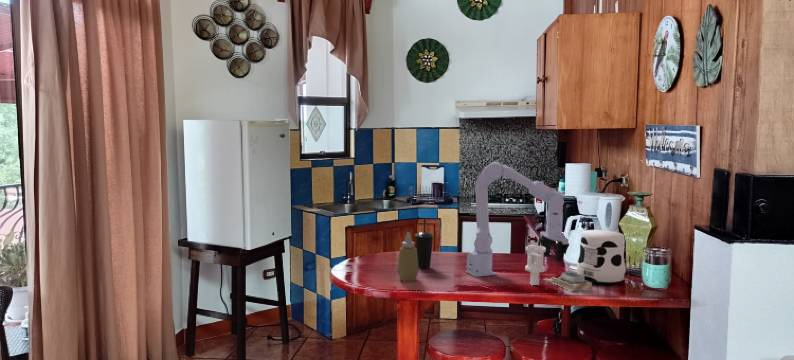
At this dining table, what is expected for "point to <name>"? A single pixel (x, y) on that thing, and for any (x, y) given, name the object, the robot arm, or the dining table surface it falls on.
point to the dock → (570, 284)
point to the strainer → (535, 262)
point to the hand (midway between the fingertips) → (552, 259)
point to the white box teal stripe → (572, 278)
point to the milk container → (601, 256)
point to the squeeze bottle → (408, 260)
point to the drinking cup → (424, 248)
